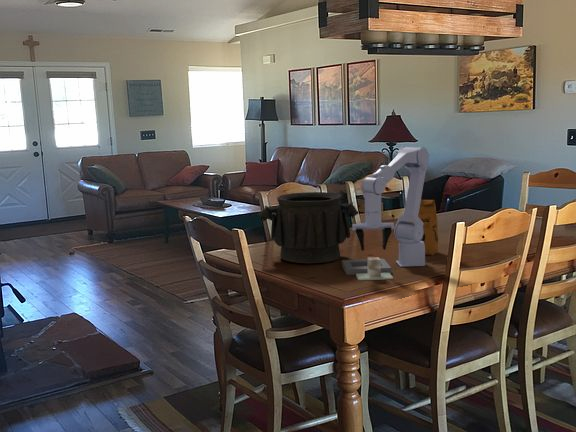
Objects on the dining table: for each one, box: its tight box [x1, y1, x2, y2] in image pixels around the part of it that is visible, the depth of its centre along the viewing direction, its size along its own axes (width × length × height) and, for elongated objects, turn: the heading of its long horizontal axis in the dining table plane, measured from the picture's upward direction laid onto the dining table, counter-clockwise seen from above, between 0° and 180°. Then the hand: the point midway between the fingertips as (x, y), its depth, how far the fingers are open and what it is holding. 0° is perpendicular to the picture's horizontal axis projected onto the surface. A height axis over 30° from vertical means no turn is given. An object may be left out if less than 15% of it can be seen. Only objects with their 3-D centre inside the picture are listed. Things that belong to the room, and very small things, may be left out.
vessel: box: [257, 191, 359, 264], centre depth 253 cm, size 31×32×25 cm
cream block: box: [367, 256, 381, 277], centre depth 223 cm, size 4×4×6 cm
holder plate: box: [341, 258, 392, 276], centre depth 235 cm, size 16×14×2 cm
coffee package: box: [407, 199, 439, 256], centre depth 257 cm, size 10×12×22 cm
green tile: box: [355, 272, 394, 281], centre depth 223 cm, size 12×7×1 cm, turn 93°
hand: (373, 249), depth 225 cm, fingers open, 7 cm apart
